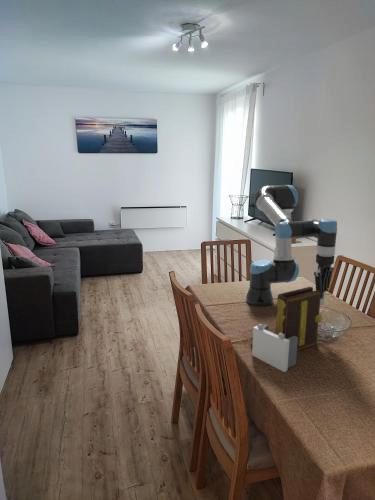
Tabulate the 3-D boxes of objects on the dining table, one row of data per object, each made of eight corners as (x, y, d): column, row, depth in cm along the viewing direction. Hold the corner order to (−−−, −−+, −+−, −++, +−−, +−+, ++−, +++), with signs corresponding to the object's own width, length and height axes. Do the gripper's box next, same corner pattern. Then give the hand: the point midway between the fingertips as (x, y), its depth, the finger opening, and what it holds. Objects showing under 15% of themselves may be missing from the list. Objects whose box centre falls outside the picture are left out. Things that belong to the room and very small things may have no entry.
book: (284, 356, 152) (288, 301, 145) (271, 347, 159) (274, 293, 153) (323, 343, 162) (328, 290, 155) (308, 335, 169) (313, 284, 162)
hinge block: (253, 340, 165) (254, 332, 164) (262, 342, 163) (262, 334, 162) (250, 344, 162) (251, 336, 161) (259, 346, 160) (259, 338, 159)
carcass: (264, 348, 158) (265, 316, 154) (296, 364, 146) (298, 330, 143) (252, 355, 153) (253, 322, 149) (284, 372, 141) (286, 337, 137)
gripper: (325, 250, 168) (321, 298, 174) (309, 255, 160) (306, 305, 165) (340, 253, 162) (336, 302, 168) (325, 259, 154) (321, 310, 160)
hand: (321, 304), depth 167 cm, fingers closed
